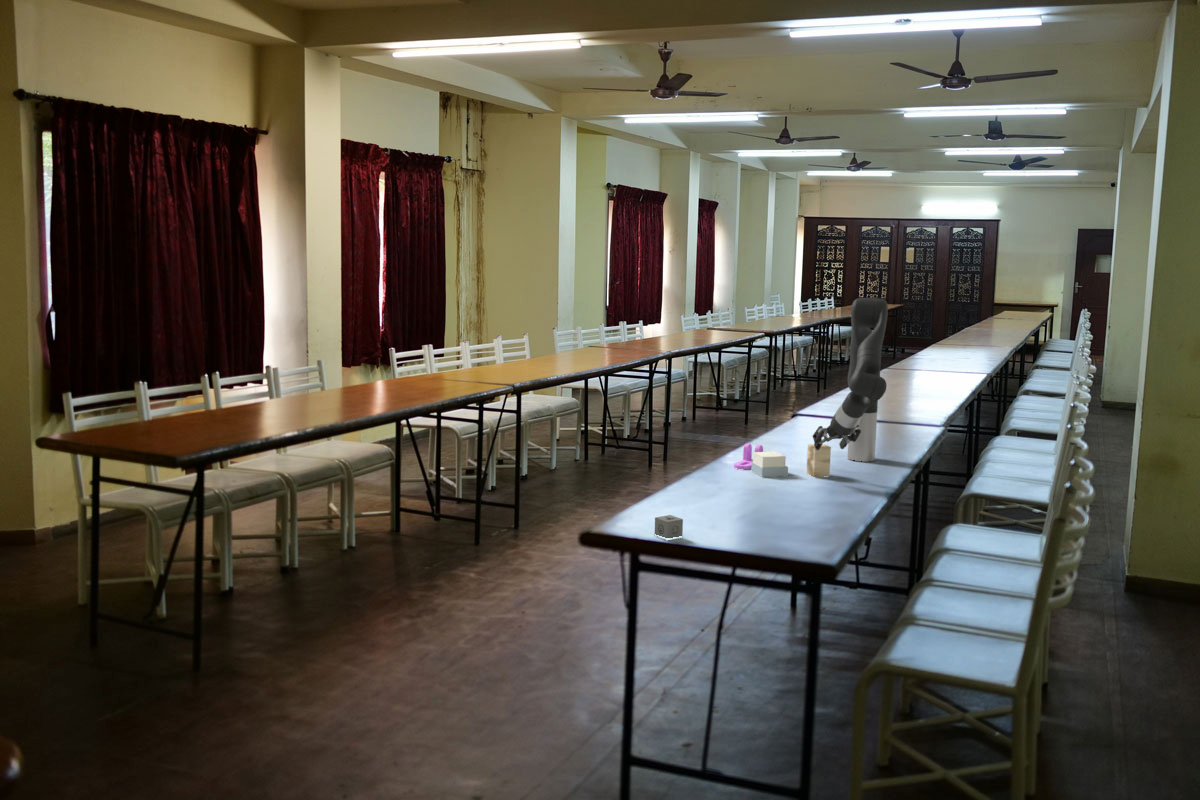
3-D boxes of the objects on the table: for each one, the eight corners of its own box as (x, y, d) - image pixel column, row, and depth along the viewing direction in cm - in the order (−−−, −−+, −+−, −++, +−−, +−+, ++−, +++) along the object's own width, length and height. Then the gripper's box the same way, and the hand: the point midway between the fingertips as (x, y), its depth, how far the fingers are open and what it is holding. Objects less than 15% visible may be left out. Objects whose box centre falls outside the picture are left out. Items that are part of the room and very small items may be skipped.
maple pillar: (806, 474, 344) (807, 444, 343) (821, 473, 346) (823, 443, 344) (813, 477, 339) (815, 447, 338) (829, 477, 340) (830, 446, 339)
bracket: (747, 462, 362) (748, 442, 361) (762, 464, 359) (763, 444, 358) (731, 468, 352) (731, 448, 351) (746, 470, 349) (747, 450, 348)
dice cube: (667, 541, 262) (667, 521, 262) (654, 536, 266) (655, 517, 266) (682, 538, 265) (682, 519, 264) (669, 533, 269) (670, 514, 268)
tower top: (752, 462, 346) (753, 452, 346) (774, 461, 348) (775, 451, 348) (762, 467, 339) (762, 456, 338) (785, 466, 341) (785, 456, 340)
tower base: (751, 472, 347) (751, 462, 347) (776, 471, 349) (776, 461, 349) (761, 478, 338) (762, 468, 338) (787, 477, 341) (788, 467, 340)
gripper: (864, 407, 326) (845, 436, 339) (822, 408, 323) (804, 438, 335) (872, 427, 322) (852, 456, 334) (829, 428, 318) (811, 457, 331)
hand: (828, 447), depth 335 cm, fingers open, 8 cm apart
